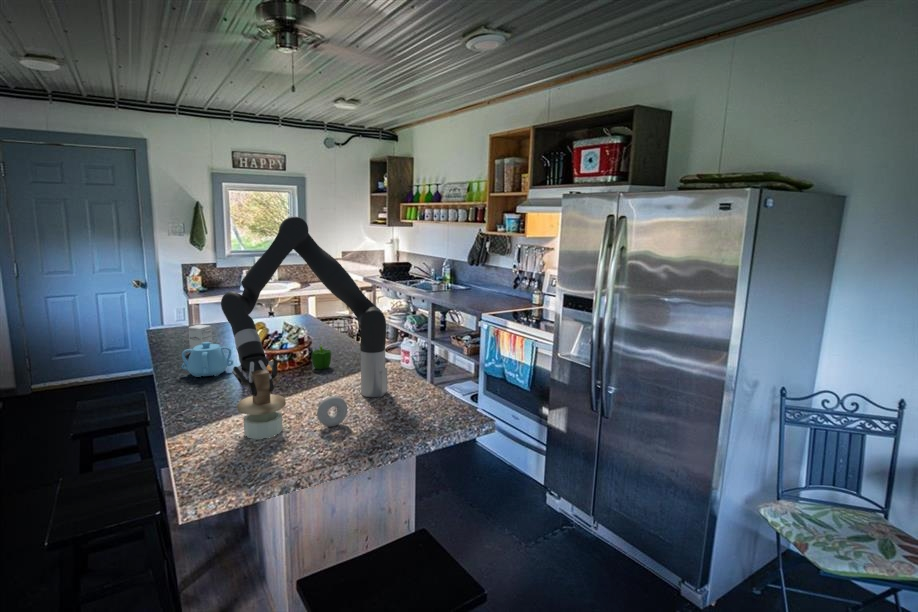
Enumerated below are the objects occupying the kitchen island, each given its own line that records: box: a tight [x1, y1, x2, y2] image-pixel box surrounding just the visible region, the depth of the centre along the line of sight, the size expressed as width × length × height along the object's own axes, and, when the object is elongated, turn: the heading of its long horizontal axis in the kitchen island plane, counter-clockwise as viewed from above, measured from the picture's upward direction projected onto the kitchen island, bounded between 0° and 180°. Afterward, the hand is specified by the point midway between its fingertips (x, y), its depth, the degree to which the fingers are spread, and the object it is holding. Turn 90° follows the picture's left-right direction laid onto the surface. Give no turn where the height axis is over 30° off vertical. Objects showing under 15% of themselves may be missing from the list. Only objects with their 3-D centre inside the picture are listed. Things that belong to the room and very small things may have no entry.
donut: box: [316, 395, 349, 428], centre depth 162 cm, size 10×3×10 cm, turn 125°
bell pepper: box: [311, 344, 332, 370], centre depth 221 cm, size 8×8×10 cm
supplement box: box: [188, 323, 214, 349], centre depth 242 cm, size 7×7×13 cm
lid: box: [236, 369, 286, 415], centre depth 156 cm, size 14×14×11 cm
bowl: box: [243, 410, 283, 440], centre depth 158 cm, size 11×11×5 cm
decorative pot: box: [181, 342, 234, 378], centre depth 210 cm, size 16×16×14 cm
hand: (263, 393), depth 154 cm, fingers closed on lid, 4 cm apart
